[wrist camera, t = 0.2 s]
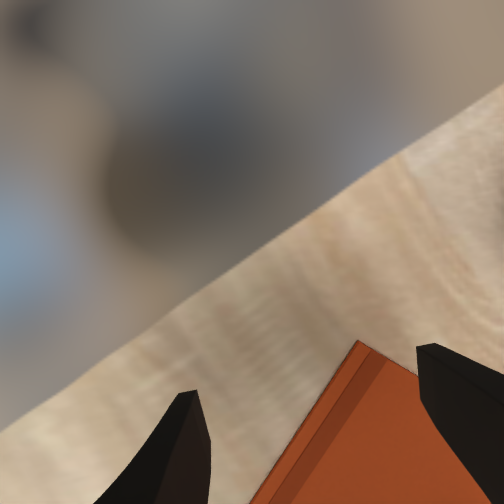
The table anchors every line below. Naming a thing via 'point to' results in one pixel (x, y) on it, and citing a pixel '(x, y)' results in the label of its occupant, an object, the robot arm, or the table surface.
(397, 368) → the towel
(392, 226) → the table surface
